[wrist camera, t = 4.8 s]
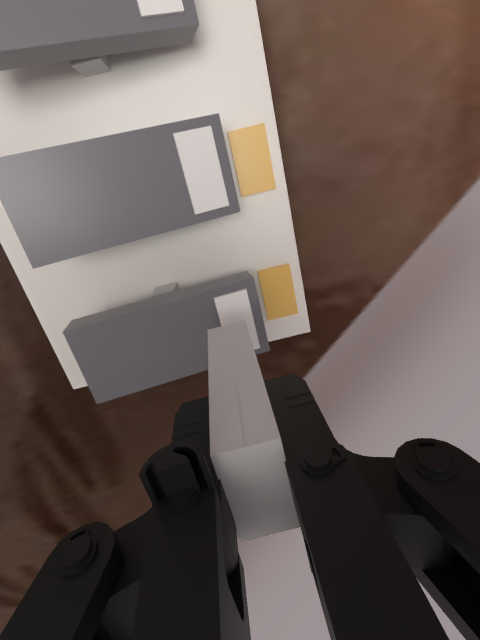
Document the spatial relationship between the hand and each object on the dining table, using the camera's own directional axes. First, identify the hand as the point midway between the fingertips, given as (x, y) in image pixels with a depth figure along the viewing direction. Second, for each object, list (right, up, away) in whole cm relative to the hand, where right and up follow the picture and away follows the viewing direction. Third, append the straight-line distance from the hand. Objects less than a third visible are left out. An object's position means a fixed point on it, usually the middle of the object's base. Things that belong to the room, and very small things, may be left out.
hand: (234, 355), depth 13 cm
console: (-5, +9, +7) cm, 13 cm away
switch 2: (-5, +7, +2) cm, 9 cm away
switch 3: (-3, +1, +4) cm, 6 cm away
